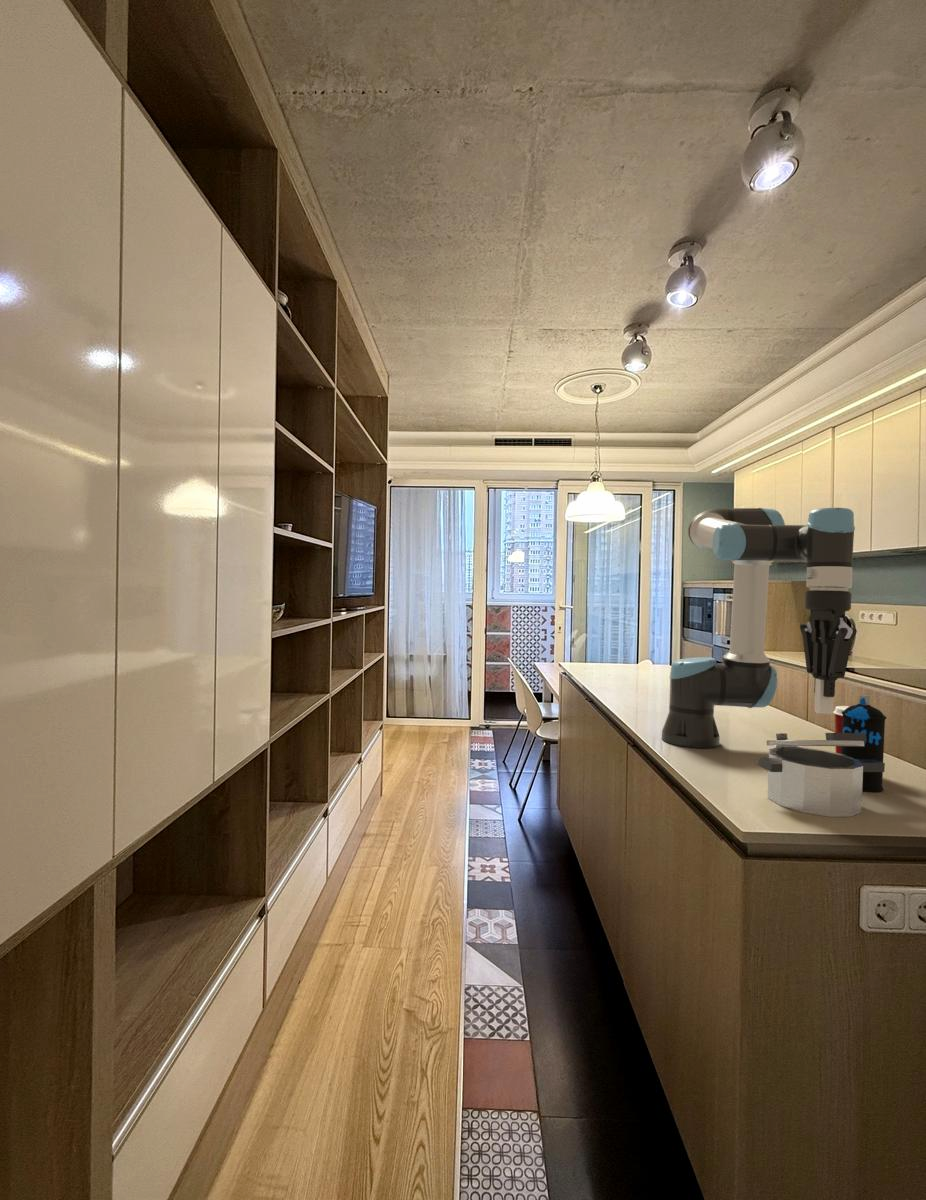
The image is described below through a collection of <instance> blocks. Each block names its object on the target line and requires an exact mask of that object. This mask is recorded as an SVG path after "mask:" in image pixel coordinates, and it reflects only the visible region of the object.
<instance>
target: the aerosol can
mask: <svg viewBox="0 0 926 1200" xmlns="http://www.w3.org/2000/svg"><path fill="white" fill-rule="evenodd" d="M870 701H871V696H870V695H868V694H859V695H858V703H857V704H855V705H854V704H853V705H850V707H848V708H846V709H845V710H844V711H842V714H843V725H842V733H866V739H867V741H864V746H842V749H841V754H844V755H847V756H849V757H852V758H854V759H875V760H878V761H880V762H883V763H884V756H885V755H884V751H885V749H884V748H885V731H886V729H885V727H886V720H887V716H886V715H884V713H883V712H882V711H881V710H880V709H878V708H877V707H875V706H874V707H873V706H872V705H871V703H870ZM883 773H884V772H863V782H862V792H867V793H881V792H883V791H884V787H883V776H884V775H883Z"/></svg>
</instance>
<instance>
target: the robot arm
mask: <svg viewBox="0 0 926 1200" xmlns="http://www.w3.org/2000/svg"><path fill="white" fill-rule="evenodd" d="M854 515H855V514H854V512H853V510H852V509H850V508H847V507H821V508H816V509H813V510H811V511H810V512H809V514H808V518H807V523H806V524H803V525H802V524H793V525H792V524H786V523H785V520H784V518H783V516H782V514H781V513H780V512H779V511H778V510H776V509H772V508H763V507H757V508H756V507H755V508H753V507H752V508H751V507H749V508H748V507H745V508H743V507H742V508H738V507H737V508H735V507H734V508H733V507H731V508H730V507H729V508H728V507H727V508H726V507H721V508H720V507H719V508H712V509H707V510H705V511H703V512H699V514H697V515H695V516H694V517H693V518H692V519H691V520H690V523H688V528H687V535H688V538H689V540H690V542H691V543H692V544H693V545H694V546H695V547H697V548H699V549H701V550H706V551H712V553H713V555H714V558H716V559H717V560H723V561H724V560H725V561H731V562H732V564H733V565H734V566H733V569H734V570H733V586H732V587H733V588H732V601H731V603H732V604H731V622H730V636H729V637H730V639H729V650H728V652H727V653H725V654H724V655H723V658H722V662H720V663H717V660H716V658H714V657H708V656H707V657H706V656H705V657H702V656H700V657H697V656H695V657H686V658H680V659H677V660H674V661H673V662H672V663H671V665H670V666H671V667H670V673H669V679H670V680H669V681H670V682H669V709H668V710H669V711H668V713H667V717H666V719H665V721H664V724H663V727H662V730H661V739H662V740H663V741H664V742H665V743H669V744H672V745H676V746H681V747H687V748H695V749H711V748H716V747H719V746H720V744H721V743H720V739H721V737H720V734H719V729H718V726H717V723H716V720H715V716H714V715H715V713H714V712H715V706H721V707H722V706H724V707H739V708H748V709H753V708H765V707H767V706H769V705H770V704H771V703H772V702H773V699H774V698H775V696H776V695H775V694H776V692H777V688H778V687H777V686H778V677H777V676H778V672H777V669H776V668H775V667H774V666H772V665H771V660H770V658H768V656H767V655H766V654H765V645H766V644H765V643H766V627H767V626H766V625H767V612H768V611H767V608H768V594H769V593H768V590H769V576H770V575H769V574H770V565H771V564H772V563H774V562H794V563H798V564H802V563H804V564H806V578H805V579H806V580H805V581H806V582H805V586H806V587H807V589H809V590H806V591H805V599H804V601H805V603H804V607H805V609H806V610H810V614H809V617H808V622H807V623H805V624H803V623H802V624H800V625H799V630H800V632H801V635H802V640H803V641H802V642H803V649H804V659H805V667H806V672H807V673H808V674H811V675H812V677H813V678H814V689H813V692H814V710H813V711H814V713H815V714H820V715H821V714H822V715H833V714H834V713H833V711H834V698H835V695H836V694H835V693H836V680H838V679H843V678H845V677H846V676H845V675H846V673H847V672H846V671H847V667H848V663H849V658H850V652H851V650H852V649H851V648H852V644H853V640H854V639H855V636H856V634H857V632H858V631H857V628H855V627H850V626H849V625H848V624H847V623H848V622H847V617H846V612H849V611H850V610H851V609H852V593H851V591H849V589H851V588H853V558H854V539H855V538H854V536H855V530H856V527H855V518H854Z"/></svg>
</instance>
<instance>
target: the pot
mask: <svg viewBox="0 0 926 1200" xmlns="http://www.w3.org/2000/svg"><path fill="white" fill-rule="evenodd" d="M885 764H886V763H885V762H884V761H883V762H880V761H878V760H875V759H854V758H852V757H849V756H847V755H844V754H839V753H836V751H835V752H834V751H829V750H826V749H818V748H811V747H810V748H809V747H805V746H775V747H772V748H769V749H768V757H758V766H759V767H760V768H763V769H764V770H766V771H767V791H766V792H767V799H769V800H770V801H773V802H774V803H776V804H777V805H779V806H780V807H784V808H787V809H791V810H793V811H797V812H800V813H802V814H803V813H804V814H811V815H815V816H816V815H817V816H823V817H830V818H835V817H836V818H841V817H842V818H843V817H844V818H849V817H850V818H852V817H855V816H856V815H859V814H861V813H862V805H863V803H862V802H863V801H862V800H863V791H862V782H863V772H883V773H885V766H886V765H885Z"/></svg>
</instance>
